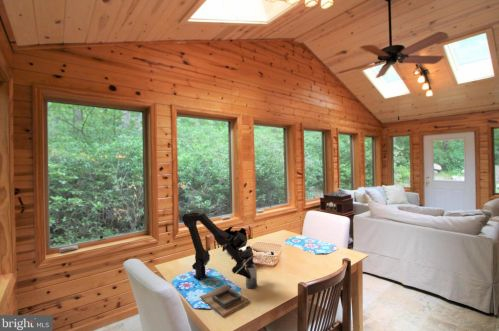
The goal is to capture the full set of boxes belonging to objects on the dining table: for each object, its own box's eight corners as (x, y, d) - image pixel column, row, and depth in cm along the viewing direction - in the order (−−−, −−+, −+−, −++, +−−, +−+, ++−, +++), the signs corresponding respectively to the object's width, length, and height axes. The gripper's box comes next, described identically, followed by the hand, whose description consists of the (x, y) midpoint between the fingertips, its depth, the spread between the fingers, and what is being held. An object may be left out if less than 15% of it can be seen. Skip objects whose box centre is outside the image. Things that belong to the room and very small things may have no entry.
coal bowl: (215, 251, 188) (215, 227, 187) (236, 245, 201) (235, 222, 201) (232, 259, 173) (231, 232, 172) (253, 251, 186) (252, 226, 186)
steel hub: (243, 286, 137) (243, 266, 137) (251, 282, 141) (251, 262, 141) (251, 290, 133) (250, 269, 132) (259, 286, 136) (258, 266, 136)
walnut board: (199, 298, 126) (199, 292, 126) (225, 287, 136) (225, 281, 136) (222, 317, 111) (222, 310, 111) (249, 302, 121) (249, 296, 121)
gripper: (236, 249, 129) (257, 273, 125) (249, 237, 146) (268, 258, 142) (223, 262, 132) (243, 286, 128) (238, 249, 149) (255, 270, 146)
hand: (253, 274), depth 136 cm, fingers open, 9 cm apart
